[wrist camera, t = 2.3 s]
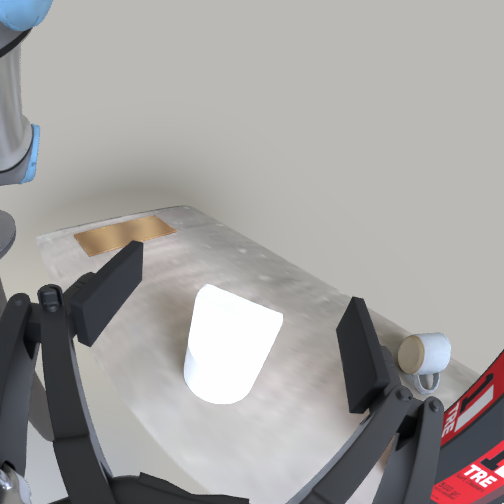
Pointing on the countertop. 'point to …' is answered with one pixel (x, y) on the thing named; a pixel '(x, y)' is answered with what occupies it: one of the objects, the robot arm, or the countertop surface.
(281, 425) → the countertop surface
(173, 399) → the countertop surface
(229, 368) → the cylinder with rectangular tab
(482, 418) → the cleaning product box
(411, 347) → the ceramic mug
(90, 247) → the tan rectangular plate
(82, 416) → the robot arm
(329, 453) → the countertop surface
